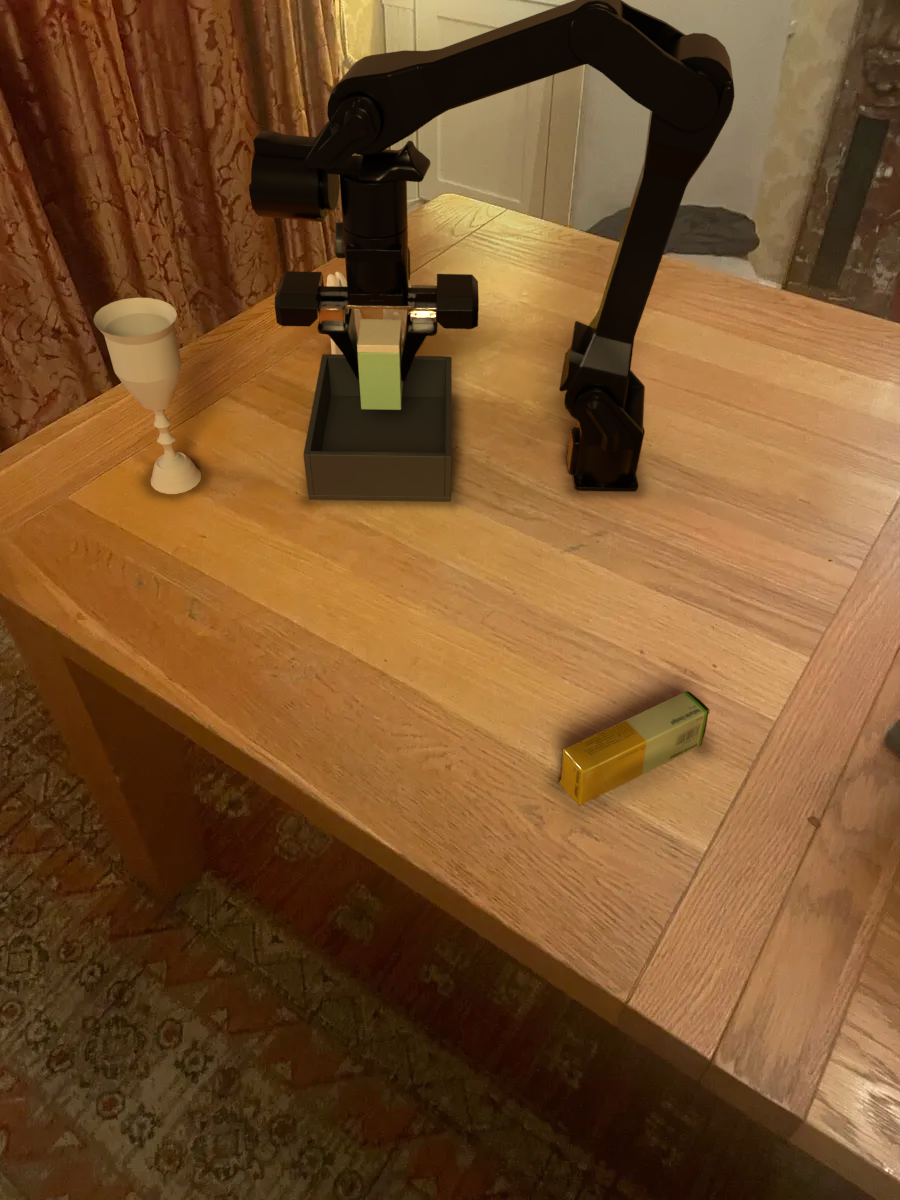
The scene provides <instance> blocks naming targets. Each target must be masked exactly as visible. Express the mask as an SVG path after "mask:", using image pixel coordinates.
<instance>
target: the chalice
mask: <svg viewBox="0 0 900 1200" xmlns="http://www.w3.org/2000/svg"><path fill="white" fill-rule="evenodd" d="M177 315H178V313H177V310H176V308H175V307H174V306H172V305H171V304H170V303H169V302H166V301H163V300H161V299H158V298H151V297H131V298H123V299H118V300H115V301H111V302H110V303H108V304H106V305H104V306H103V307H101V308H99V310H97V311H96V313H95V314H94V316H93V323H94V326H95V327H96V328H97V329H98V330H99V331H100V332H101V333H102V335H103V336H104V340H105V344H106V346H107V347H106V348H107V351H108V353H109V357H110V361H111V364H112V365H111V366H112V368H113V372H114V374H115V375H116V377H117V378H118V379H119V381H120V382H121V384H122V385H123V387H124V388H125V389H126V391H128V392H129V393H130V394H131V396H132V397H133V398H134V399H135V400H136V401H137V402H138V403H139V404H140V405H141V406H142V408H144V409H146V410H148V411H152V412H153V413H154V421H153V426H154V427H155V428H156V429H157V430H158V432H159V435H158V437H157V438H156V443H158V444H160V445H161V446H162V448H163V452H164V453H163V454H162V455H160V456H159V457H158V458H157V459H156V460H155V462H154V464H153V468H152V473H151V474H152V475H151V478H150V484H151V487H152V488H153V489H154V490H155V491H157V492H159V493H162V494H166V495H178V494H182V493H186V492H188V491H191V490H192V489H194V488H196V486H198V484H199V483H200V482H201V480H202V473H201V470H200V469H199V468H198V467H197V466H196V464H195V463H194V462H193V461H192V460H191V458H190V457H189V456H188V455H186V454H184V453H183V452H179V451H175V449H174V443H175V441H176V436H175V435H173V434H172V433H171V431H170V426H171V425H172V421H171V420H170V419H168V417H167V415H166V413H165V409H168V408H169V407H170V406H171V405H172V403H173V401H174V397H175V394H176V392H177V388H178V385H179V381H180V377H181V376H180V375H181V370H182V363H183V362H182V359H181V358H182V357H181V354H180V349H179V344H178V340H177V336H176V332H175V322H176V320H177Z"/></svg>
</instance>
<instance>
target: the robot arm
mask: <svg viewBox="0 0 900 1200" xmlns="http://www.w3.org/2000/svg"><path fill="white" fill-rule="evenodd" d="M731 61H732V60H731V58H730V55H729V53H728V51H727V48H726V45H725V46H724V44H723V43H722V42H721V41H720V40H719V39H718V38H717V37H714V36H713V35H710V34H708V33H703V32H701V33H700V32H699V33H698V32H692V33H689V34H685V33H684V32H682V31H681V30H679V29H677V28H676V27H674V26H673V25H671V24H669V23H668V22H667V21H665V20H662V19H660V18H658V17H656V16H653V15H652V14H649V13H648V12H645V11H643V10H640V9H638V8H636V7H633V6H631V5H630V4H629V3H626V2H625V1H624V0H571V1H568V2H566V3H563V4H561V5H558V6H555V7H553V8H552V7H551V8H550V9H546V10H544V11H541V12H538V13H536V14H533V15H530V16H527V17H525V18H522V19H519V20H517V21H514V22H511V23H508V24H506V25H503V26H499V27H496V28H493V29H491V30H488V31H486V32H483V33H480V34H477V35H475V36H472V37H469V38H467V39H463V40H461V41H458V42H455V43H453V44H449V45H447V46H444V47H442V48H436V49H430V50H406V49H405V50H397V51H391V52H384V53H377V54H370V55H366V56H364V57H361V58H360V59H358V60H357V61H355V62H354V63H353V64H352V66H351V67H350V68H349V69H348V70H347V72H346V73H345V74H344V75H343V77H342V78H341V79H340V80H339V81H338V82H337V84H336V85H335V86H334V87H333V89H332V90H331V92H330V95H329V98H328V101H327V114H326V115H327V119H328V121H327V122H326V123H325V125H324V126H323V127H322V128H321V130H320V131H319V132H318V134H317V135H316V136H308V135H307V136H305V135H295V134H284V133H280V132H278V131H274V130H263V129H262V130H261V131H259V133H258V134H257V135H256V136H255V137H254V138H253V140H252V141H253V150H254V154H253V158H252V161H251V169H250V170H251V171H250V183H249V184H248V191H249V193H248V194H249V198H250V203H251V206H252V209H253V212H254V213H255V214H256V215H257V217H262V218H272V219H274V218H275V219H283V220H295V221H306V222H317V223H322V222H324V220H325V219H326V217H327V215H328V211H329V212H330V211H331V212H333V211H335V210H336V209H337V207H338V204H339V203H338V202H339V199H340V203H341V218H342V221H336V222H335V223H334V224H335V226H334V232H335V233H334V245H335V246H334V247H335V248H334V250H335V257H336V258H337V259H344V264H345V275H346V276H345V279H346V280H347V287H337V286H325V282H324V281H325V280H324V276H323V272H322V271H295V270H294V271H287V270H286V271H285V272H284V273H283V274H282V276H281V277H280V279H279V281H278V285H277V289H276V293H275V296H274V313H275V318H276V319H275V321H276V324H277V325H279V326H281V327H311V326H312V325H313V324H314V323H315V322H316V321H317V320H318V323H317V332H318V333H319V334H320V335H327V336H329V337H331V339H332V340H333V341H334V343H335V344H336V345H337V347H338V348H339V349H340V350H341V352H342V353H343V355H344V356H345V358H346V360H347V362H348V363H349V365H350V367H351V369H352V371H353V372H354V374H355V376H356V378H357V379H358V380H359V367H358V351H357V343H358V336H357V330H356V325H355V316H354V309H360V310H383V309H407V318H406V326H405V334H404V342H403V343H402V359H401V381H405V379H406V377H407V374H408V372H409V369H410V367H411V364H412V362H413V359H414V357H415V356H417V353H418V351H419V349H420V348H421V347H422V345H423V343H424V341H425V340H426V338H427V337H434V336H436V335H437V334H438V324H439V325H440V326H441V327H442V328H443V329H444V330H445V329H446V330H473V329H476V328H477V327H478V326H479V303H480V302H479V301H480V299H479V297H480V296H479V281H478V280H477V279H476V277H475V276H474V275H473V274H469V273H468V274H467V273H436V284H435V285H434V284H414V285H411V286H412V287H411V288H409V281H410V280H411V250H410V247H409V231H408V228H409V225H408V222H409V221H408V182H411V183H412V182H413V183H422V182H423V181H424V179H425V176H426V174H427V173H428V170H429V168H430V167H431V160H430V159H429V158H428V157H427V156H426V155H425V154H424V153H423V152H422V151H420V150H419V149H417V147H416V146H415V143H414V142H413V140H407V141H406V143H405V145H403V147H402V148H400V149H389V148H390V147H392V146H393V145H395V144H397V143H399V142H401V141H403V140H404V139H406V138H408V137H409V136H411V135H413V134H415V132H417V131H418V130H420V129H421V128H422V127H424V126H425V125H426V124H428V123H430V122H431V121H433V120H434V119H435V118H437V117H439V116H441V115H443V114H444V113H446V112H448V111H450V110H453V109H456V108H459V107H461V106H465V105H468V104H471V103H474V102H477V101H480V100H484V99H486V98H489V97H492V96H495V95H498V94H501V93H504V92H507V91H510V90H512V89H516V88H518V87H519V88H520V87H522V86H524V85H528V84H530V83H534V82H536V81H540V80H543V79H545V78H549V77H551V76H555V75H557V74H560V73H563V72H567V71H570V70H573V69H576V68H578V67H581V66H585V65H588V66H590V67H592V68H593V69H595V70H596V71H597V72H600V73H601V74H602V75H603V76H605V77H606V78H607V79H608V80H610V82H611V83H613V84H614V85H615V86H617V87H618V88H619V89H620V90H621V91H623V93H625V94H626V95H627V96H628V97H629V98H631V100H633V101H635V102H636V103H637V104H638V105H640V106H642V107H644V108H646V109H647V110H649V119H648V126H647V135H646V143H645V150H644V158H643V164H642V167H641V170H640V173H639V176H638V179H637V183H636V187H635V189H634V193H633V197H632V199H631V201H630V202H631V203H630V206H629V210H628V213H627V216H626V219H625V222H624V226H623V229H622V232H621V235H620V239H619V242H618V246H617V249H616V252H615V255H614V259H613V262H612V266H611V269H610V272H609V275H608V278H607V281H606V285H605V288H604V291H603V295H602V298H601V301H600V305H599V308H598V310H597V312H596V314H595V316H594V317H593V319H592V320H591V321H590V323H589V324H588V325H587V324H585V323H583V322H580V321H578V320H576V321H574V326H573V333H572V338H571V344H570V347H569V348H568V349H567V351H566V352H565V353H564V359H563V365H562V371H561V377H560V383H559V389H558V390H559V392H565V393H564V401H563V402H564V403H563V404H564V407H565V410H566V411H567V412H568V413H569V414H570V417H572V418H574V419H575V420H576V421H577V424H576V426H575V427H574V426H573V427H572V428H571V429H570V432H569V433H570V435H569V440H568V448H567V456H566V461H567V469H568V474H569V475H570V476H572V483H573V488H574V490H576V491H579V492H637V491H638V489H639V483H638V478H637V470H638V466H639V461H640V455H641V452H642V446H643V441H644V437H645V428H644V417H645V414H644V413H645V395H646V394H645V393H646V386H645V384H644V383H643V382H642V381H641V380H640V379H639V377H637V375H636V374H635V373H634V372H633V370H631V367H632V359H633V351H634V343H635V337H636V334H637V332H638V328H639V325H640V323H641V320H642V316H643V315H644V314H643V313H644V311H645V308H646V305H647V303H648V300H649V296H650V295H651V294H650V293H651V291H652V288H653V285H654V281H655V279H656V276H657V273H658V270H659V268H660V265H661V262H662V258H663V255H664V252H665V250H666V247H667V244H668V242H669V238H670V236H671V232H672V229H673V227H674V224H675V221H676V218H677V216H678V212H679V210H680V206H681V205H682V204H681V203H682V201H683V198H684V195H685V192H686V189H687V187H688V185H689V183H690V181H691V180H692V178H693V177H694V176H695V174H696V173H697V171H698V170H699V168H700V167H701V166H702V164H703V163H704V161H705V160H706V158H707V157H708V155H709V154H710V152H711V151H712V149H713V147H714V144H715V143H716V141H717V139H718V138H719V136H720V134H721V132H722V130H723V129H724V127H725V125H726V123H727V121H728V119H729V117H730V115H731V112H732V110H733V106H734V101H735V85H734V84H735V83H734V77H733V70H732V69H733V68H732V62H731ZM331 339H330V340H331Z"/></svg>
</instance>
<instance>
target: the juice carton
mask: <svg viewBox="0 0 900 1200" xmlns="http://www.w3.org/2000/svg"><path fill="white" fill-rule="evenodd" d="M357 351H358V367H359V383H360V398H361V409H376V410H401V403H402V389H403V381H401V359H402V351H403V343H402V323H401V320H395V319H384V318H363V319H361V322H360V329H359V336H358V343H357Z"/></svg>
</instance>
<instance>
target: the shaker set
mask: <svg viewBox="0 0 900 1200" xmlns="http://www.w3.org/2000/svg"><path fill="white" fill-rule="evenodd" d="M326 286H337V287H347V278H346V276H344V274H343V273H342V272H341V271H339V270H338V271H335V273H334V274H333V273H329V274H328V275H327V277H326ZM412 286H413V285H411V281H410V280H409V288H411V287H412ZM382 312H383V314H382V315H383V319H395V320H401V323H402V344H403V342H404V334H405V326H406V318H407V309H382ZM354 316H355V325H356V330H357V336H359V329H360V322H361V319H364V318H363V315H362V313H361V309H354ZM329 337H330V336H329ZM329 339H330V350H331V351H330V352H331V354H339V355H343V353H342V352H341V350H340V349H339V348H338V347H337V345H336V344H335V343H334V341H333V340H332V339H331V337H330V338H329Z"/></svg>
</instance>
